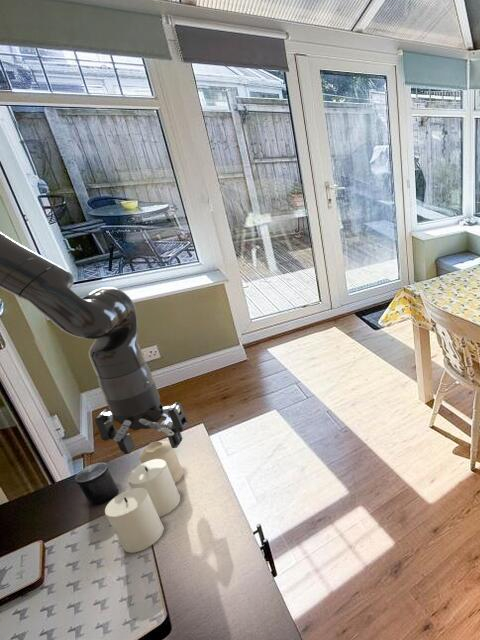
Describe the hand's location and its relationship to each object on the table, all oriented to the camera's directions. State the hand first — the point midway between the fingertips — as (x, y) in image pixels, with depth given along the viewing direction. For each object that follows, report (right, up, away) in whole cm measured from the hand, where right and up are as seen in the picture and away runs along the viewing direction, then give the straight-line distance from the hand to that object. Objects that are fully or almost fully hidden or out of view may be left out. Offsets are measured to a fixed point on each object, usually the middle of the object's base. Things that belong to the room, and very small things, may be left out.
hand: (153, 448), depth 88 cm
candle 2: (+3, -11, -2) cm, 12 cm away
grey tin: (-11, -10, 0) cm, 15 cm away
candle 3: (+5, -14, -8) cm, 17 cm away
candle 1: (0, -9, +4) cm, 10 cm away
